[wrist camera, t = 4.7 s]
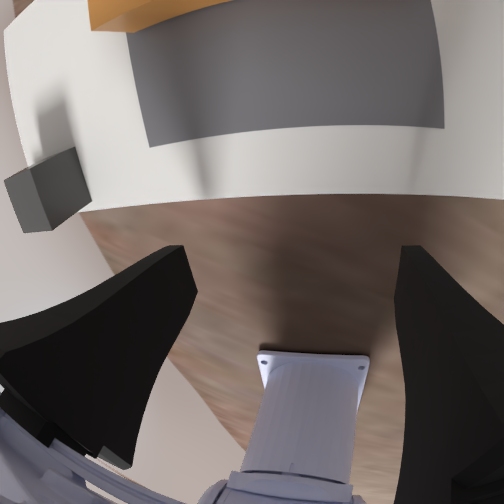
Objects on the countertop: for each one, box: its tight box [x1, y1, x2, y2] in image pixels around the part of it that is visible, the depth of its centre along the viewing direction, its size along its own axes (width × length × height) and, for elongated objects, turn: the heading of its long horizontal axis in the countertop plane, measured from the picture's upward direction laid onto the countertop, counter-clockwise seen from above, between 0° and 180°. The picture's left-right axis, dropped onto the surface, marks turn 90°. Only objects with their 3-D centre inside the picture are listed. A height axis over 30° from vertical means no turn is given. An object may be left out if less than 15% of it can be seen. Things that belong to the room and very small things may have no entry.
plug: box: [4, 147, 92, 233], centre depth 12 cm, size 4×3×3 cm
